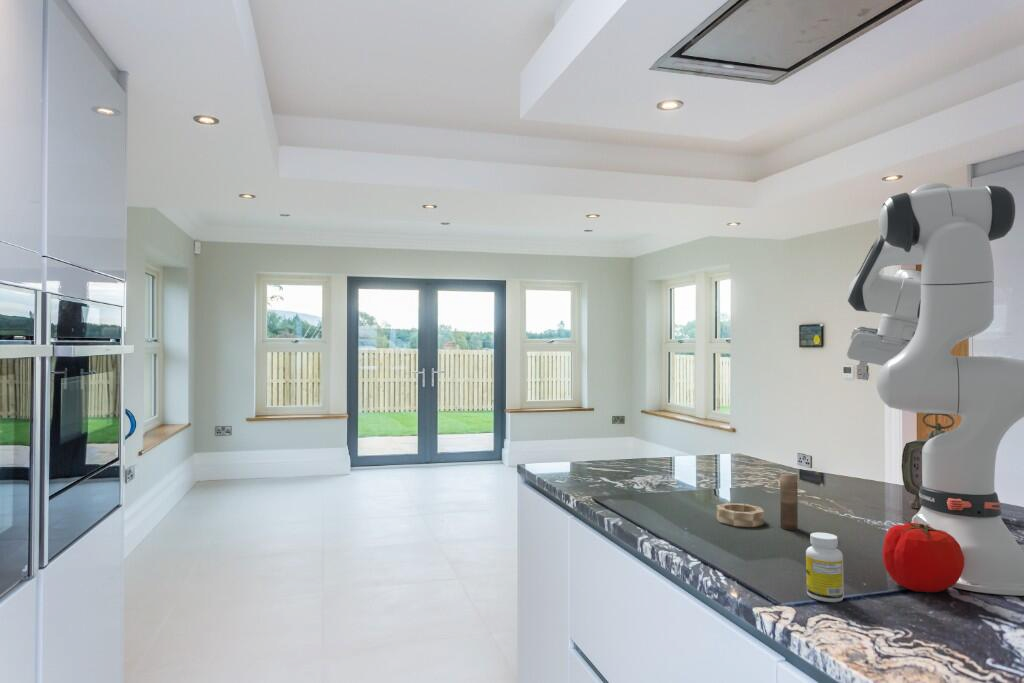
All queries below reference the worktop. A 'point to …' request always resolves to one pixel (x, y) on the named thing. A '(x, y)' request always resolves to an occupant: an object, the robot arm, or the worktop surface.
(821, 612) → the worktop surface
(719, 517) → the wooden octagonal ring
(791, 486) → the brown wooden cylinder
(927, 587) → the tomato
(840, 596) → the supplement bottle
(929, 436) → the tabletop clock
